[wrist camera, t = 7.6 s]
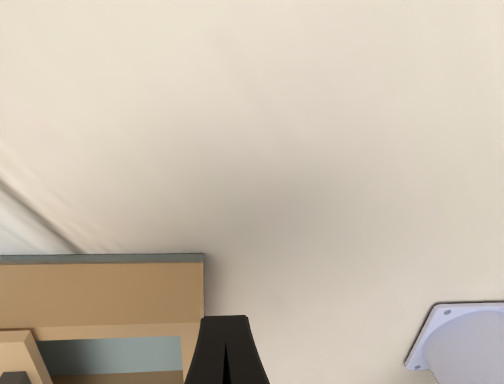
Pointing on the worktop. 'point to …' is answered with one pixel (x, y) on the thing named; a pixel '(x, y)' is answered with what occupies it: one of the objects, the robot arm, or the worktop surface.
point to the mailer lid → (21, 359)
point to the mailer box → (107, 314)
